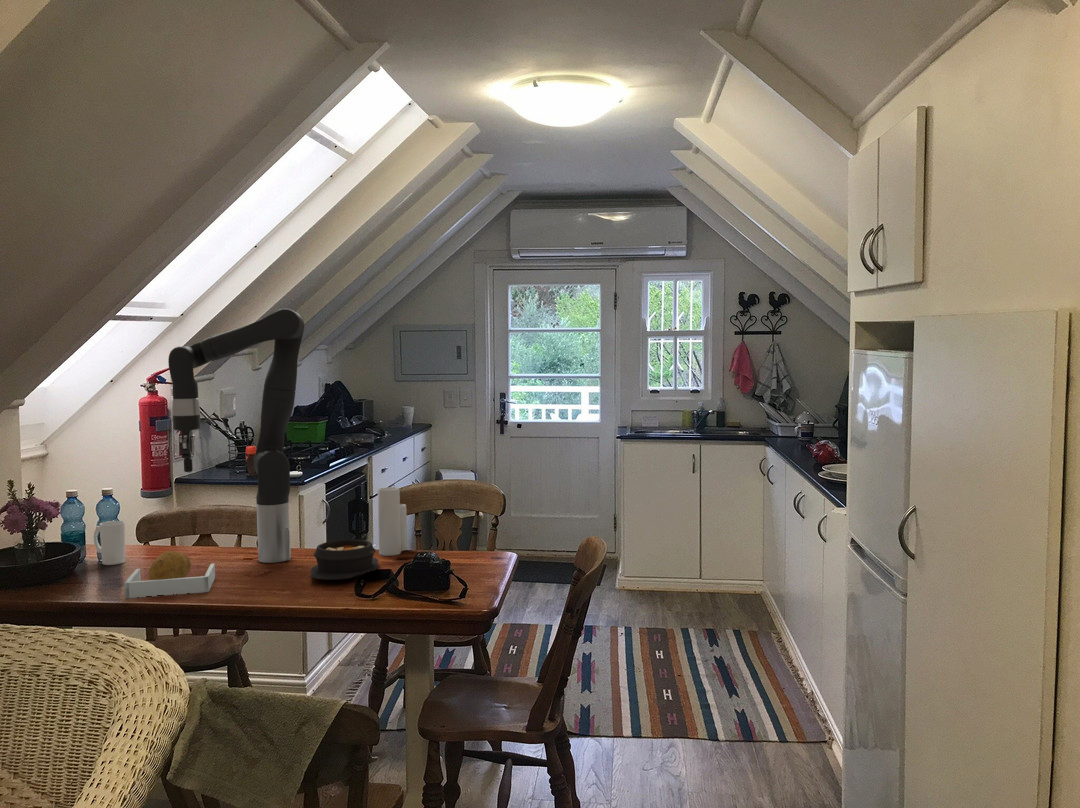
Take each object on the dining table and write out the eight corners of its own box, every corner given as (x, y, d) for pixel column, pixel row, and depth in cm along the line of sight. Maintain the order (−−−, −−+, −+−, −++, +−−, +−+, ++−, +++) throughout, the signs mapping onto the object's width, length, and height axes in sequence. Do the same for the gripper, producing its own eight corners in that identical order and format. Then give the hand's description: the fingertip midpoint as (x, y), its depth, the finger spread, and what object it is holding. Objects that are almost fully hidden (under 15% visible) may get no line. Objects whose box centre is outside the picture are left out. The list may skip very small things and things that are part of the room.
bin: (215, 577, 240) (214, 563, 239) (208, 592, 225) (208, 576, 225) (136, 583, 235) (136, 568, 234) (125, 598, 220) (124, 583, 220)
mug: (131, 560, 261) (129, 521, 261) (115, 565, 255) (113, 525, 254) (103, 558, 264) (101, 520, 263) (86, 564, 257) (84, 524, 257)
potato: (135, 556, 226) (167, 554, 224) (167, 548, 239) (197, 545, 237) (139, 593, 226) (170, 591, 224) (170, 582, 239) (200, 580, 237)
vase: (396, 556, 262) (395, 490, 261) (374, 555, 264) (372, 490, 262) (409, 547, 273) (408, 484, 272) (387, 547, 275) (386, 484, 273)
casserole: (359, 587, 228) (358, 556, 227) (293, 585, 231) (292, 554, 230) (392, 564, 252) (391, 536, 252) (332, 562, 255) (331, 534, 255)
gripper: (196, 414, 251) (199, 474, 252) (202, 411, 264) (204, 468, 265) (169, 415, 249) (171, 475, 251) (176, 412, 262) (178, 469, 263)
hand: (188, 471), depth 258 cm, fingers closed
